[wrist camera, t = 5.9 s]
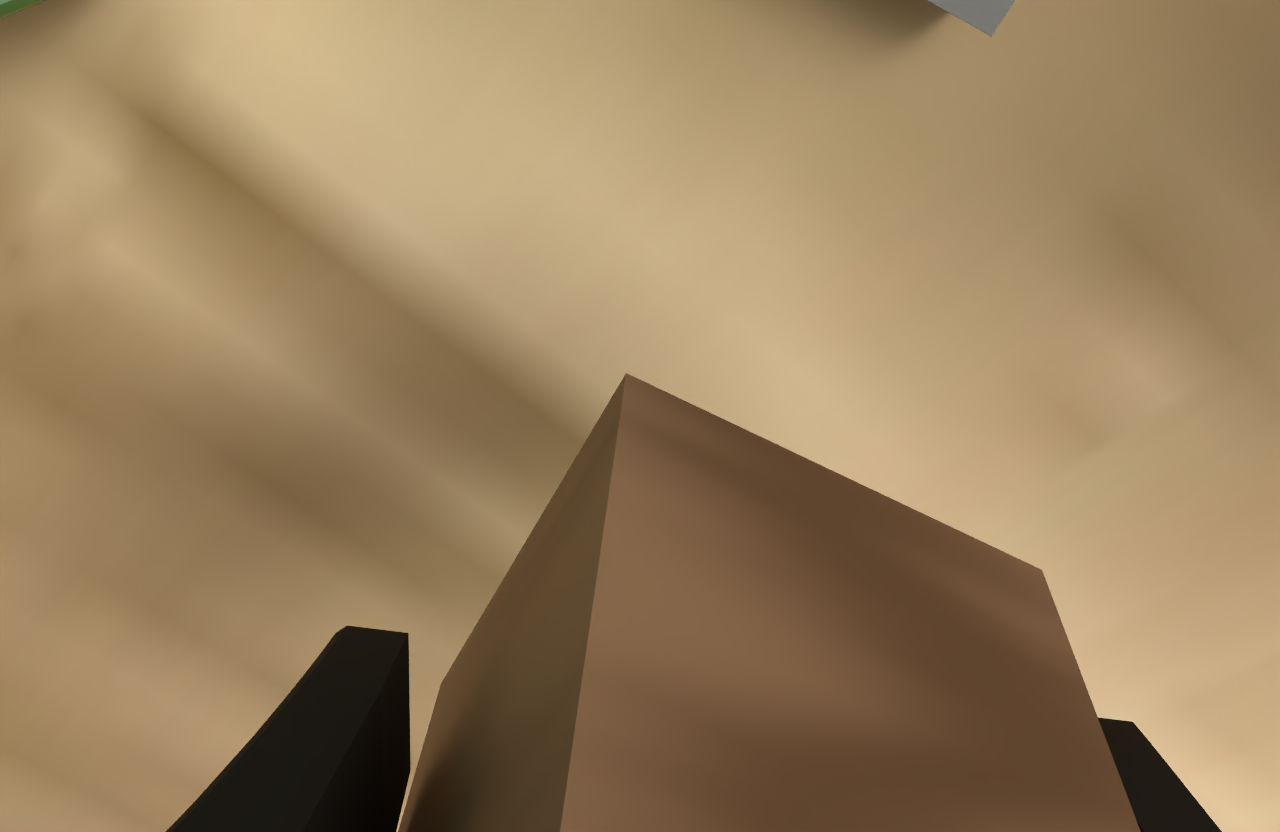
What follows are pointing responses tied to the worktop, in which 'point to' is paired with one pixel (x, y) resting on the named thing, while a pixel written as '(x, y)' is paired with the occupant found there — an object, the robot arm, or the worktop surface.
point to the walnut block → (757, 659)
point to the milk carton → (15, 6)
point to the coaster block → (977, 12)
